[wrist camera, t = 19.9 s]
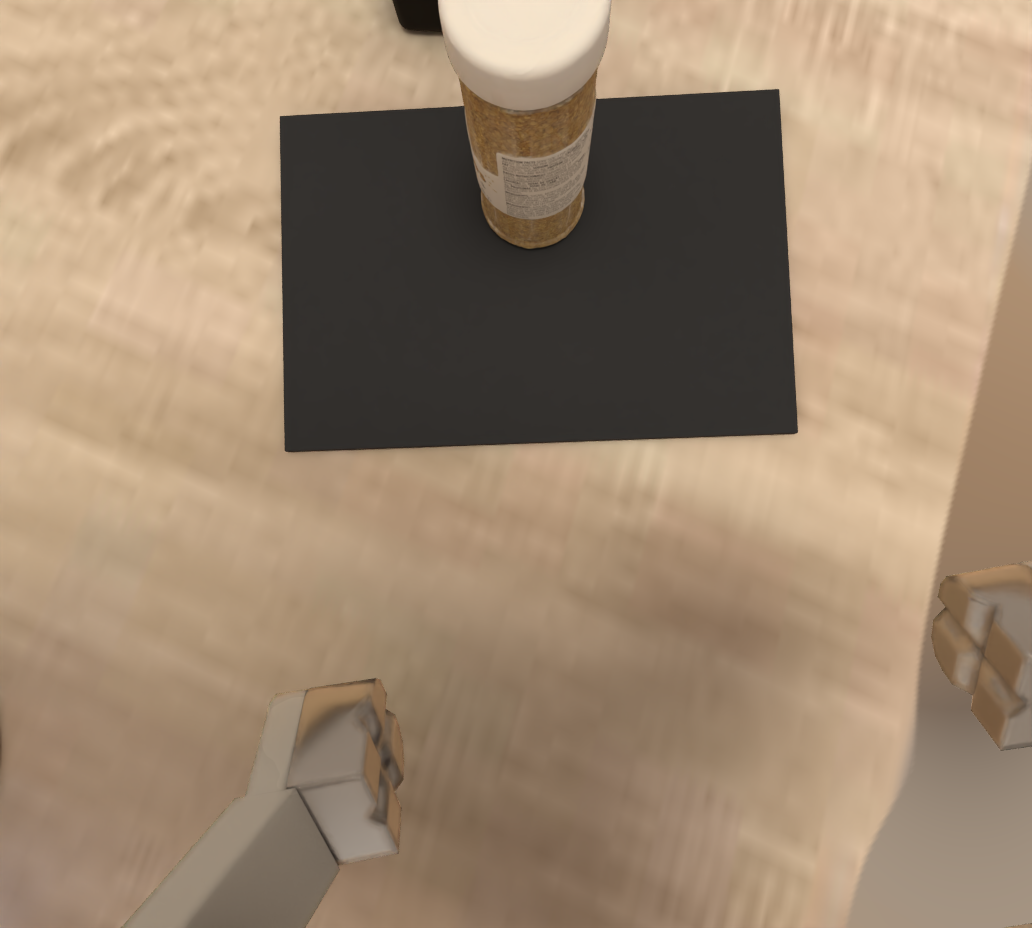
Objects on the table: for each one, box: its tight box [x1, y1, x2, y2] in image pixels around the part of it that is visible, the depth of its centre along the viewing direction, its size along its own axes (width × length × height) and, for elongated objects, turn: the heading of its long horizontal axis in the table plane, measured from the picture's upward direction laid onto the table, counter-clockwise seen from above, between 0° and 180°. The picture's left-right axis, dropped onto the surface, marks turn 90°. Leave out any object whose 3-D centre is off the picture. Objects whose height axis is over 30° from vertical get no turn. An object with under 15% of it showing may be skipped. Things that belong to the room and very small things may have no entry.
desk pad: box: [280, 89, 798, 452], centre depth 32 cm, size 22×15×1 cm
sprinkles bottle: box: [438, 0, 611, 249], centre depth 26 cm, size 5×5×14 cm
